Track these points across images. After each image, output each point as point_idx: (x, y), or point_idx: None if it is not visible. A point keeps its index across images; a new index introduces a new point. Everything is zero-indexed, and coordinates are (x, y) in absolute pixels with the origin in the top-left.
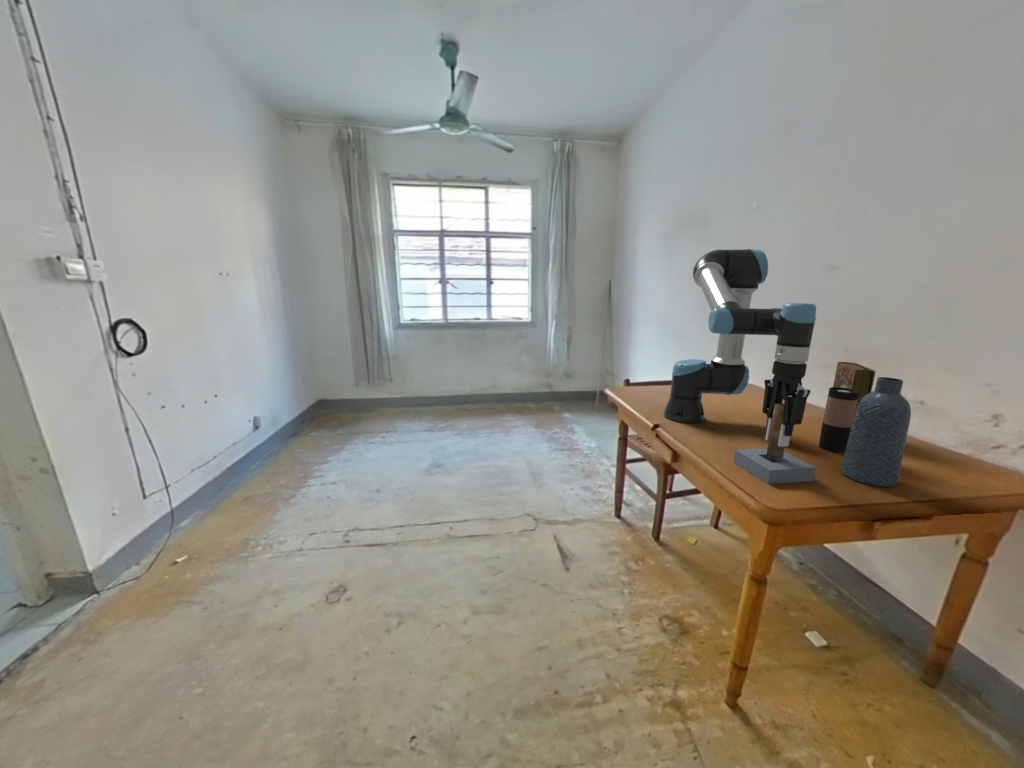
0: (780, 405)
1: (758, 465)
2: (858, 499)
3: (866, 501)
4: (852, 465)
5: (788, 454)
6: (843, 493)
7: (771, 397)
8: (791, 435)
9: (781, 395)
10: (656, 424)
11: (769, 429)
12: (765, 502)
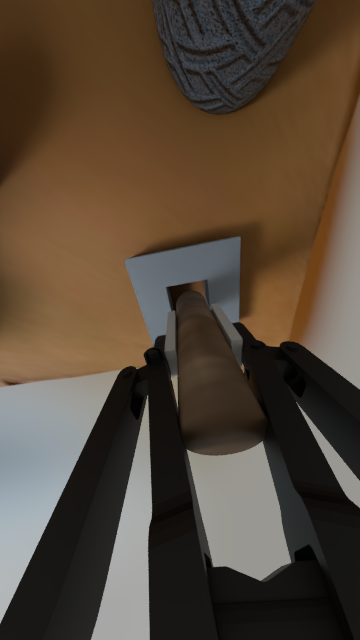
0: (235, 446)
1: None
2: (310, 196)
3: (321, 184)
4: (246, 78)
5: (165, 256)
6: (283, 211)
7: (116, 473)
8: (240, 323)
9: (200, 528)
10: (8, 384)
11: None
12: None
